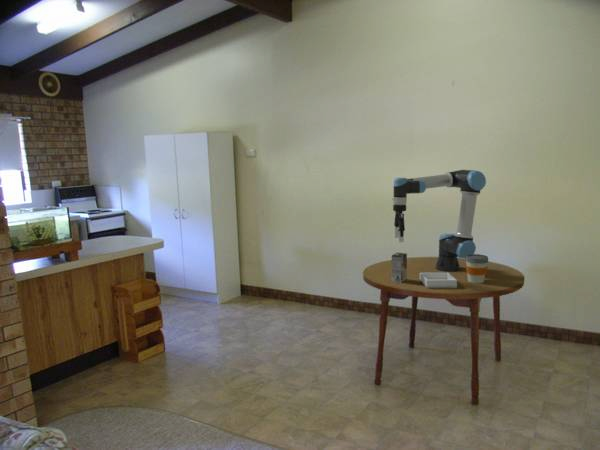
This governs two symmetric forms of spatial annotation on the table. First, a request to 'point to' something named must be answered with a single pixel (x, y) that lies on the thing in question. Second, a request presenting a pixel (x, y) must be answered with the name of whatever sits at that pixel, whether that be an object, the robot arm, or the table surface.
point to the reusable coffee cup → (476, 267)
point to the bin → (438, 280)
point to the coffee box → (399, 267)
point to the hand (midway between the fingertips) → (399, 239)
